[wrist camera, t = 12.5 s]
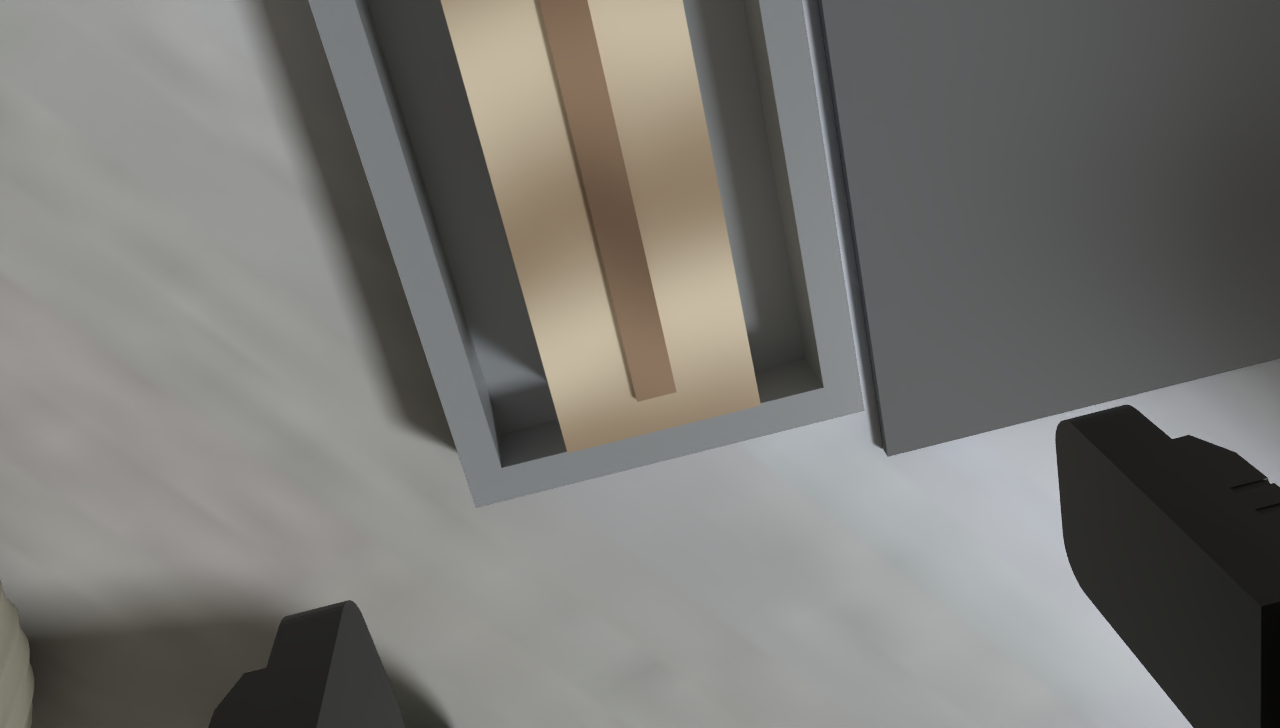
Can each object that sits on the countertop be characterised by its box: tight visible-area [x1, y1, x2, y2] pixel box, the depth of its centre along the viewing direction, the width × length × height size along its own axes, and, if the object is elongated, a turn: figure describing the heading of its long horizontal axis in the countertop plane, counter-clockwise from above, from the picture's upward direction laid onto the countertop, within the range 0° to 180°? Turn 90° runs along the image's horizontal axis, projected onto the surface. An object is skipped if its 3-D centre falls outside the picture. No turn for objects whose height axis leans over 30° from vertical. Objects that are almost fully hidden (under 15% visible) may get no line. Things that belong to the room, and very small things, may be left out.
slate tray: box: [308, 0, 864, 508], centre depth 29 cm, size 16×11×3 cm
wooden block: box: [441, 0, 761, 453], centre depth 28 cm, size 12×5×4 cm, turn 12°
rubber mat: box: [818, 0, 1280, 456], centre depth 31 cm, size 18×14×1 cm
